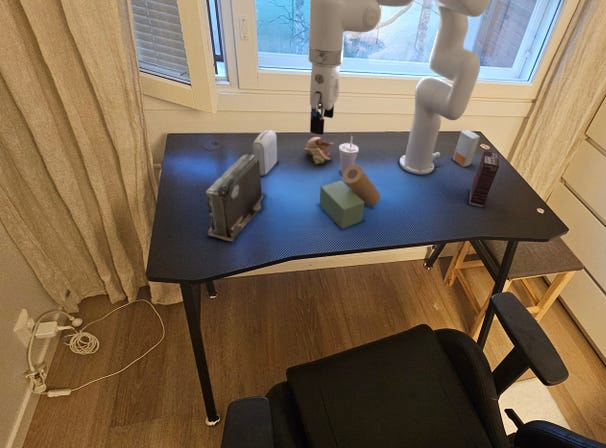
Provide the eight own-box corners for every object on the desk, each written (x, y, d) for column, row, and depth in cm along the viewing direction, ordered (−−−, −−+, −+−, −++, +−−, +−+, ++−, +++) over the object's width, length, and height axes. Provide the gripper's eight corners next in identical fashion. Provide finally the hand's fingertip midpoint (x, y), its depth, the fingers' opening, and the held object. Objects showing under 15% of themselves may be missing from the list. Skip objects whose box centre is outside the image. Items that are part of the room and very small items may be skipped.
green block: (339, 199, 122) (340, 180, 117) (361, 221, 115) (364, 202, 111) (319, 205, 118) (320, 186, 113) (341, 229, 111) (343, 209, 107)
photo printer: (266, 158, 133) (265, 124, 125) (278, 161, 132) (277, 127, 124) (252, 174, 125) (249, 139, 117) (265, 177, 124) (263, 142, 117)
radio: (249, 188, 119) (246, 144, 110) (276, 196, 118) (274, 152, 109) (200, 235, 102) (191, 187, 92) (231, 245, 100) (224, 198, 91)
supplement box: (483, 207, 129) (499, 166, 119) (468, 204, 129) (483, 163, 119) (483, 193, 136) (498, 153, 126) (469, 190, 136) (483, 149, 126)
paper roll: (370, 195, 125) (376, 154, 116) (382, 205, 122) (389, 164, 112) (336, 207, 118) (339, 165, 109) (347, 218, 115) (351, 176, 106)
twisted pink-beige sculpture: (332, 169, 134) (313, 154, 127) (311, 171, 140) (292, 156, 133) (340, 146, 137) (322, 130, 130) (319, 148, 143) (301, 133, 136)
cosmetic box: (452, 159, 150) (460, 131, 143) (459, 157, 153) (468, 128, 145) (463, 167, 147) (473, 138, 140) (471, 164, 150) (480, 136, 142)
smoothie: (352, 180, 130) (357, 142, 121) (334, 175, 131) (337, 137, 122) (358, 170, 135) (362, 133, 126) (340, 166, 136) (343, 128, 127)
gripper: (332, 70, 82) (328, 143, 93) (349, 47, 95) (344, 113, 106) (297, 63, 82) (296, 137, 93) (319, 41, 95) (316, 108, 106)
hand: (322, 124), depth 100 cm, fingers open, 9 cm apart
